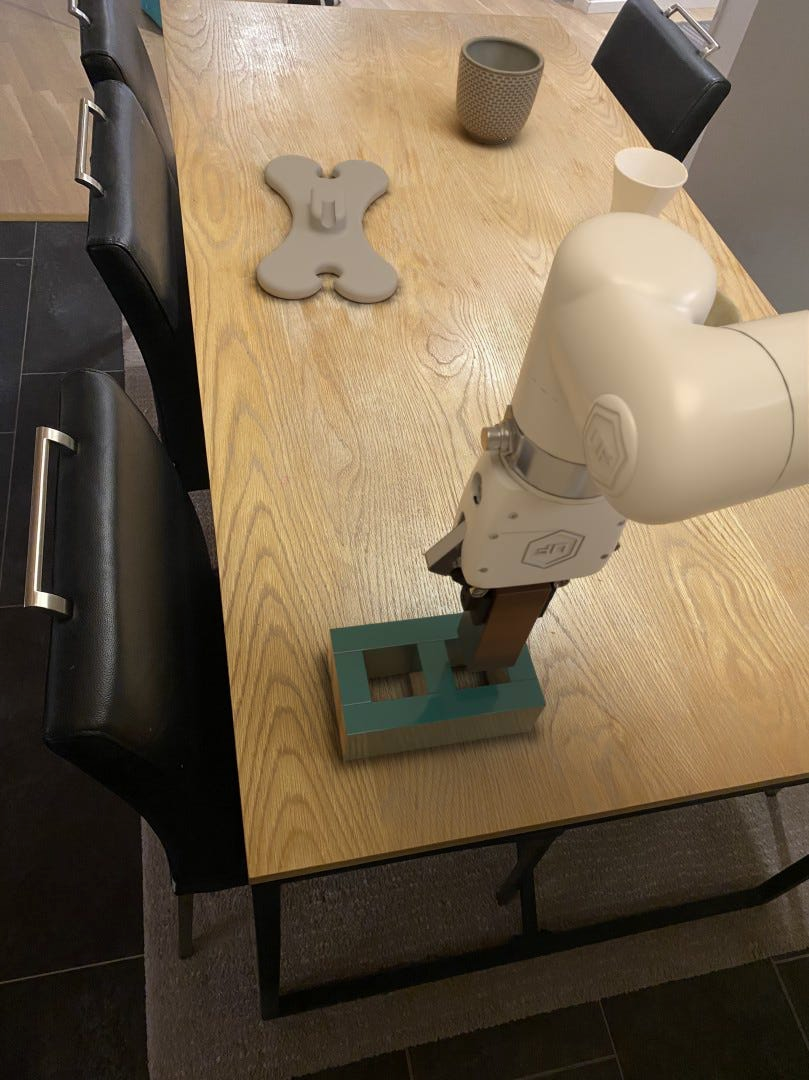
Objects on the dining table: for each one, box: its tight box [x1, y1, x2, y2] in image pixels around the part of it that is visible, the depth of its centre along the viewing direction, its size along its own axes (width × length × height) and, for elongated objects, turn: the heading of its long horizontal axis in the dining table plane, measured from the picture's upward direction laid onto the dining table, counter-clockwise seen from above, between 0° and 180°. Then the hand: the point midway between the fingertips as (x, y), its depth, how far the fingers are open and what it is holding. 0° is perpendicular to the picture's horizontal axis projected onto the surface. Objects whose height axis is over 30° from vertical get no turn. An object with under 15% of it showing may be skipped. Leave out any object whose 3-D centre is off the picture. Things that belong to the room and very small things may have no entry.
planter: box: [455, 35, 545, 146], centre depth 128 cm, size 14×14×13 cm
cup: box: [609, 146, 689, 218], centre depth 111 cm, size 10×10×14 cm
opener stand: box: [327, 612, 547, 762], centre depth 68 cm, size 10×17×6 cm, turn 101°
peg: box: [457, 582, 552, 674], centre depth 59 cm, size 4×4×12 cm
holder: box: [256, 154, 399, 304], centre depth 109 cm, size 19×34×5 cm, turn 4°
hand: (502, 604), depth 58 cm, fingers closed on peg, 4 cm apart
